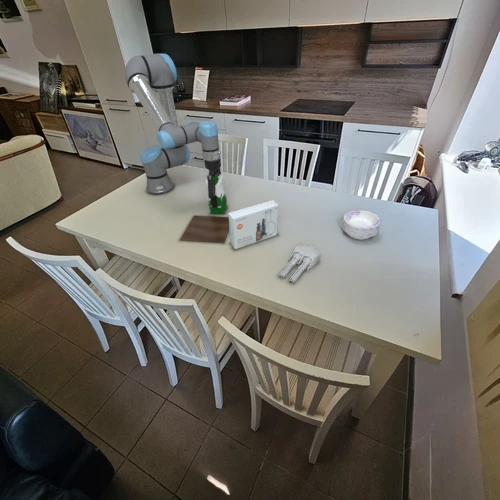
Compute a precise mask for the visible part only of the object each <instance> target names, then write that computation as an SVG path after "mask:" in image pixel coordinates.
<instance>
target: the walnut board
mask: <svg viewBox="0 0 500 500" xmlns="http://www.w3.org/2000/svg"><path fill="white" fill-rule="evenodd" d="M229 232H230V229H229V216H213V215H211V216H210V215H193V216H192V218H191V220H190V222H189V224H188V225H187V226H186V229H185V230H184V232H183V234H182V235H181V237H180V239H179V240H180V241H184V242H199V243H212V244H213V243H214V244H225V242H226V238H227V236H228V233H229Z"/></svg>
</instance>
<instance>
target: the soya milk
mask: <svg viewBox="0 0 500 500" xmlns="http://www.w3.org/2000/svg"><path fill="white" fill-rule="evenodd" d="M207 175H209V173H208V174H207ZM225 182H226V181H225V174H224V173H221V174H220V175H219V176H215V177H214V183H215V187H216V190H215V195H216V198H217V205H218V208H212V204H211V198H210V197H209V196H208V179H207V177H205V180H204V183H205V189H206V195H207V202H208V203H207V204H208V207H209V212H210V214H211V215H224V214H225V213H226V210H227V192H226V183H225Z"/></svg>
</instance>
